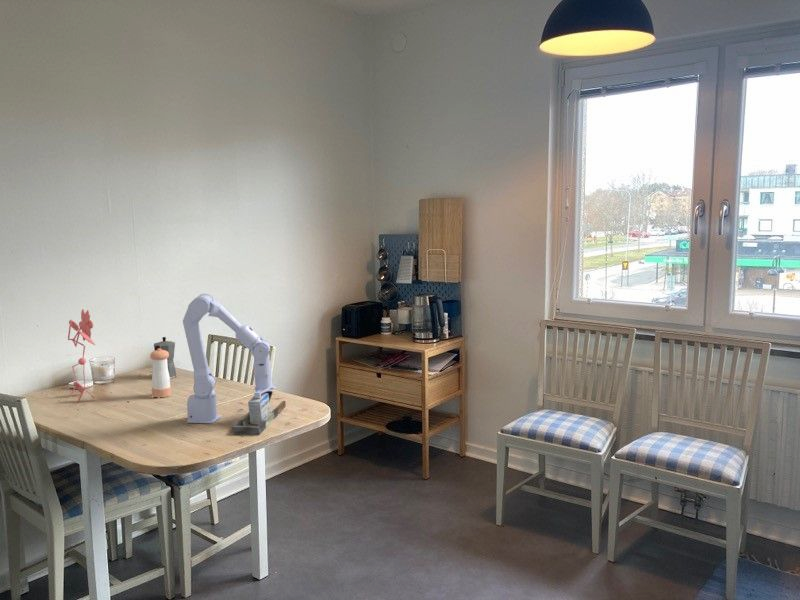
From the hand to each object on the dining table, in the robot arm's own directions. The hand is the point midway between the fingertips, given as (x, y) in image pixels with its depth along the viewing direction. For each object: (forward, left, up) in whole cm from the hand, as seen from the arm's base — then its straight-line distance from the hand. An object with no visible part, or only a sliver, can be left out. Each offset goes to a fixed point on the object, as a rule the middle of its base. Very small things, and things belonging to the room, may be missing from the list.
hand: (265, 412), depth 229 cm
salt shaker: (-50, +22, -2) cm, 54 cm away
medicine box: (0, -5, -2) cm, 5 cm away
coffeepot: (-62, +49, -2) cm, 79 cm away
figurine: (-77, +18, -2) cm, 79 cm away
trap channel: (-1, -3, -2) cm, 3 cm away
